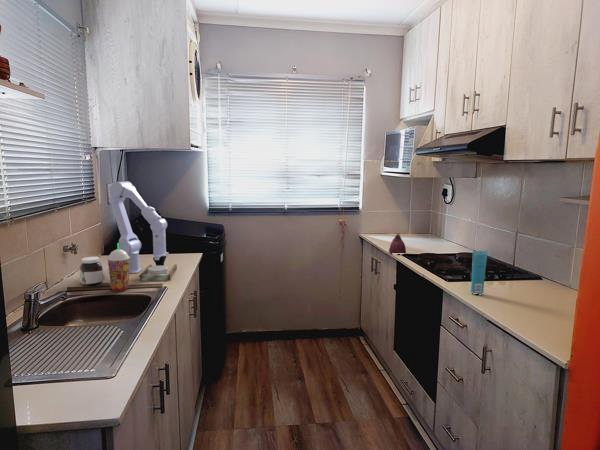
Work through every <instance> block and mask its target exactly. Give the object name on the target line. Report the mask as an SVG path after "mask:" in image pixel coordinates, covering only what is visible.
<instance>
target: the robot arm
mask: <svg viewBox="0 0 600 450" xmlns="http://www.w3.org/2000/svg"><path fill="white" fill-rule="evenodd" d="M108 190H109V193H110V194H109V195H110V196H109V203H110V207H111V209H112V212H113V216H114V218H115V222H116V224H117V227H118V231H119V234H120V238H119V240H118V243H119V249H121V250H124V251H125V252H126V253H127V254H128V256H129V257H130V258H129V259H130V260H129V274H138V273H139V272H140V271H141V270H142V267H140V254H139V253H140V250H141V248H142V242H141V241H140V240H139V237H138V235H136V234H135V233H134V232H133V229H132V226H131V223H130V220H129V217H128V214H127V210H126V207H125V204H124V201H125V200H126V198H129V199H130V200H131V201H132V202H133V203H134V204H135V205H136V207H138V208H139V209H140V210H141V215H142V216H143V218H144V219H145V220H146V221H147V223H148V224H150V226H149V228H150V229H151V231H152V247H153V248H152V249H153V251H152V252H153V253H152V256H153V257H152V260H153V262H154V263H155V266H159V265H161V266H165V262H166V259H167V255H169V252H167V248H166V247H167V243H166V242H167V240H166V237H167V235H166V229H167V228H168V221H167V220H166V219H165V218H162V216H161V215H159V214H158V213H157V212H156V208H154V207H152V206H149V205H148V204H147V203H146V201H144V199H143V198H142V196H141V195H140V194H139V192H138V191H137V188H136V187H135V186H134V184H132V182H130V181H129V180H128V181H127V180H126V181H114V182H113V183H111V185H110V186H109V189H108Z"/></svg>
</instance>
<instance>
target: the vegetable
mask: <svg viewBox="0 0 600 450" xmlns="http://www.w3.org/2000/svg"><path fill="white" fill-rule="evenodd" d="M406 249H407V248H406V244H405V242H404V241H403V239H402V237H401V235H400V234H399V233H396V235H395V236H394V237H393V239H392V241H391V244H390V247H389V250H388V253H389V252H390V253H407V250H406ZM390 253H389V254H390Z"/></svg>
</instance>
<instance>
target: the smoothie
mask: <svg viewBox="0 0 600 450" xmlns="http://www.w3.org/2000/svg"><path fill="white" fill-rule="evenodd" d="M116 243H117V244H116V245H117V246H116V247H117V248H116V249H114V250H113V251H111V252H110V254H109V256H108V257H107V265H108V273H109V275H110V288H111V289H112V291H113V292H118V293H119V292H124V291H127V290H128V287H129V284H130V273H129V260H130V259H129V258H130V257H129V256H128V254H127V253H126V252H125V251H124V250H121V249H119V246H120V243H119V242H116Z"/></svg>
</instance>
